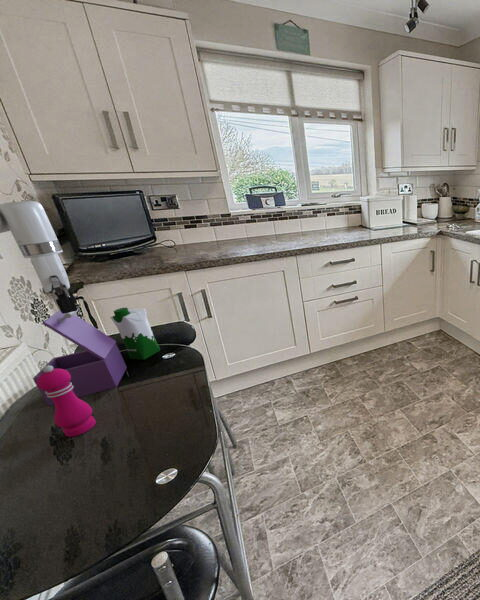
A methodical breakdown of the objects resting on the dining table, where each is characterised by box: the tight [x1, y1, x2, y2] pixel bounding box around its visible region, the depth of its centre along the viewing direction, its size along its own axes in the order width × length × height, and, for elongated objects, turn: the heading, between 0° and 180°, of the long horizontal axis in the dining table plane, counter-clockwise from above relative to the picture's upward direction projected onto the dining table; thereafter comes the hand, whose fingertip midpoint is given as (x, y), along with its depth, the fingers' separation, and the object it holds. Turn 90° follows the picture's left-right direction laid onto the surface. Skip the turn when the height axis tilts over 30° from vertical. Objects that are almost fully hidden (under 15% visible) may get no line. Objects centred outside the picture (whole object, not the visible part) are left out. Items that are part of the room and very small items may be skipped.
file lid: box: [41, 307, 117, 360], centre depth 105 cm, size 18×14×5 cm
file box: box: [32, 343, 128, 407], centre depth 108 cm, size 17×14×10 cm
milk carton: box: [109, 307, 161, 361], centre depth 124 cm, size 9×9×20 cm
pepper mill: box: [36, 365, 97, 438], centre depth 85 cm, size 7×7×20 cm
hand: (69, 308), depth 93 cm, fingers open, 9 cm apart
